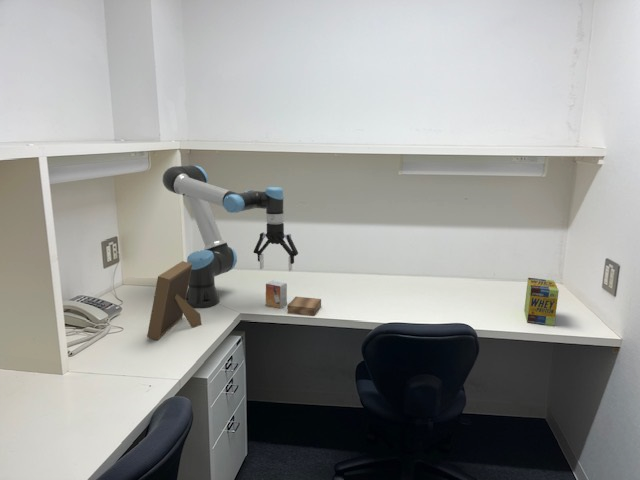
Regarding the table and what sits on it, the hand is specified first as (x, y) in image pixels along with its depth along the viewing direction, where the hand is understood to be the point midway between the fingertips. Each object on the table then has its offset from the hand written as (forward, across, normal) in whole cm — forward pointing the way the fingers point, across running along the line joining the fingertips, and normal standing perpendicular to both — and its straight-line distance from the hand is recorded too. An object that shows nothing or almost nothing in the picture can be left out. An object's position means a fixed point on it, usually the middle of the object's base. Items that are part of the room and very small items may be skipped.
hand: (276, 269), depth 203 cm
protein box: (+18, +113, +16) cm, 115 cm away
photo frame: (+17, -28, -36) cm, 49 cm away
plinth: (+17, +14, -2) cm, 22 cm away
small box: (+17, 0, 0) cm, 17 cm away
